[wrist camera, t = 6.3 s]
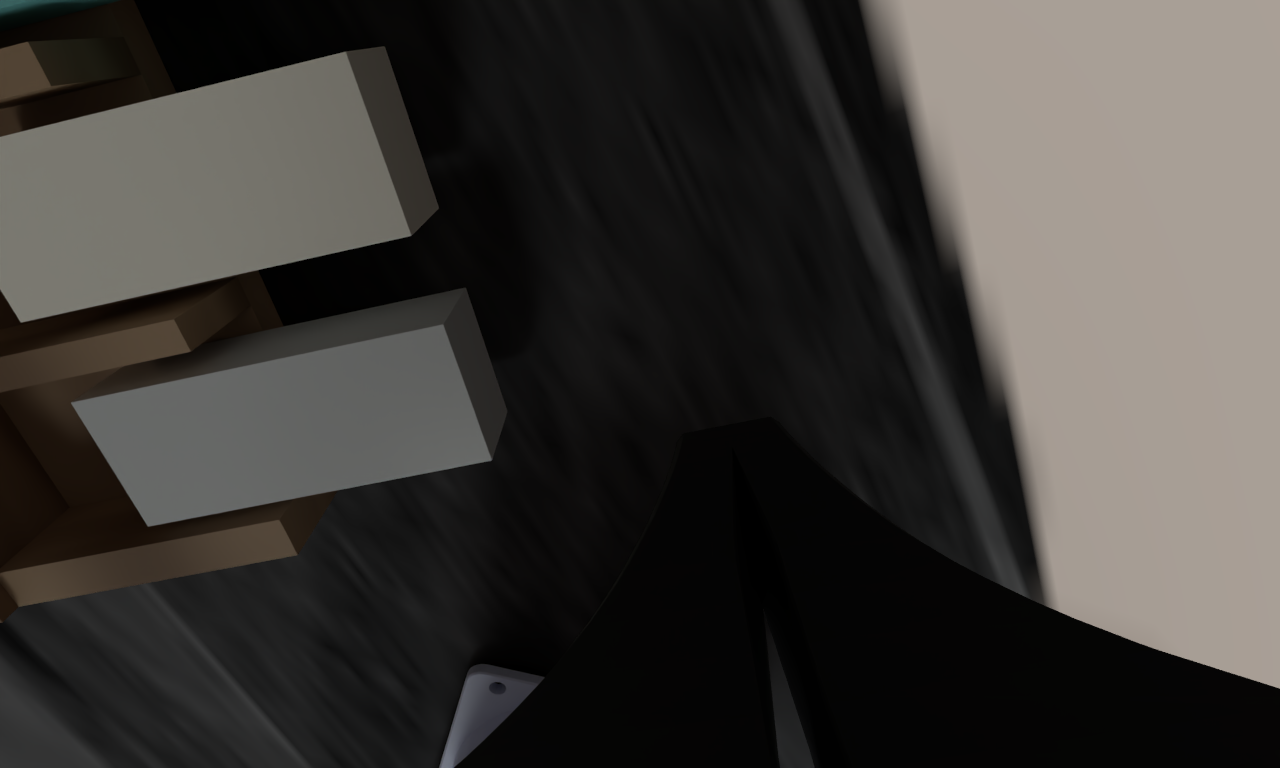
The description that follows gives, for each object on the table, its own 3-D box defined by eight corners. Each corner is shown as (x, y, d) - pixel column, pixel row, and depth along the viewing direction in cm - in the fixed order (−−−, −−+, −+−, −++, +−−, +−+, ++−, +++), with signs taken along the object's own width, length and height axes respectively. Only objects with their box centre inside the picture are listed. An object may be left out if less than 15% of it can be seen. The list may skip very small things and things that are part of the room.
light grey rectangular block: (465, 287, 17) (443, 324, 15) (507, 411, 18) (491, 460, 16) (134, 358, 17) (70, 402, 15) (198, 472, 19) (148, 526, 17)
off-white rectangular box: (384, 45, 15) (345, 51, 13) (439, 207, 16) (411, 235, 14) (10, 138, 15) (-83, 157, 13) (93, 286, 17) (20, 322, 15)
